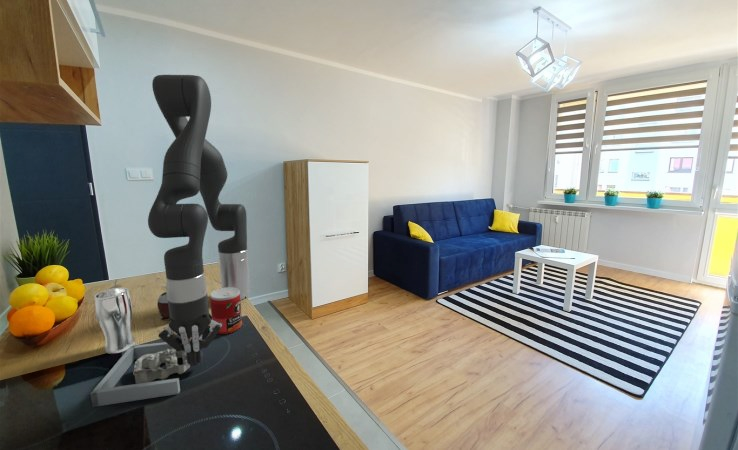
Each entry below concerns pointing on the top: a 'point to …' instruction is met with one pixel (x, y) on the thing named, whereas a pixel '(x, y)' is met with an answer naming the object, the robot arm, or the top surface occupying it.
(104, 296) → the beer glass
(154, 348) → the grey u-shaped frame
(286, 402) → the top surface
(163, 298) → the mate gourd
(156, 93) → the robot arm
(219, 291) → the canned food
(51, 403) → the top surface
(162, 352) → the egg carton
